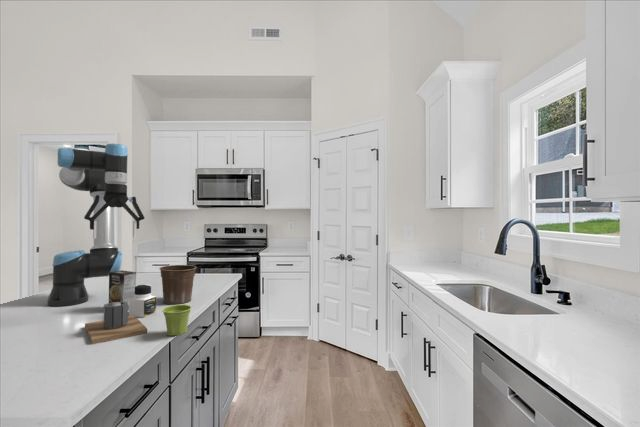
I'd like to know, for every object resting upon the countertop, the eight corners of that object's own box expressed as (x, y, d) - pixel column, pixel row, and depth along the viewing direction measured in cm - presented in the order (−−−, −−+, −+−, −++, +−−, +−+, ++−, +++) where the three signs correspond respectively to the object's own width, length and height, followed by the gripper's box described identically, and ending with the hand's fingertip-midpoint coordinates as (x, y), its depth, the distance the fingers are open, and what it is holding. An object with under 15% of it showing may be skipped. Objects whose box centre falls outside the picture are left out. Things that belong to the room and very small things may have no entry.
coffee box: (107, 309, 145) (108, 272, 145) (121, 306, 151) (122, 269, 151) (122, 312, 142) (123, 273, 142) (136, 308, 148) (136, 271, 148)
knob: (105, 328, 115) (105, 307, 115) (102, 322, 121) (102, 303, 121) (128, 324, 119) (129, 304, 119) (124, 319, 125) (124, 300, 125)
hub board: (84, 327, 122) (85, 301, 122) (134, 319, 133) (134, 294, 133) (91, 344, 107) (92, 314, 107) (147, 333, 117) (147, 305, 117)
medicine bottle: (144, 317, 135) (144, 287, 135) (128, 316, 136) (129, 286, 136) (156, 312, 142) (156, 284, 142) (141, 311, 143) (141, 283, 143)
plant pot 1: (203, 300, 163) (203, 266, 163) (173, 307, 149) (173, 271, 149) (182, 295, 172) (182, 263, 172) (151, 302, 158) (152, 267, 158)
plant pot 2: (173, 340, 111) (173, 313, 111) (156, 334, 116) (156, 309, 116) (197, 332, 119) (197, 307, 119) (180, 327, 124) (180, 303, 124)
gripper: (78, 180, 123) (77, 239, 123) (152, 185, 139) (152, 237, 139) (76, 182, 128) (75, 238, 128) (148, 186, 144) (147, 236, 144)
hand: (115, 237), depth 133 cm, fingers open, 13 cm apart
